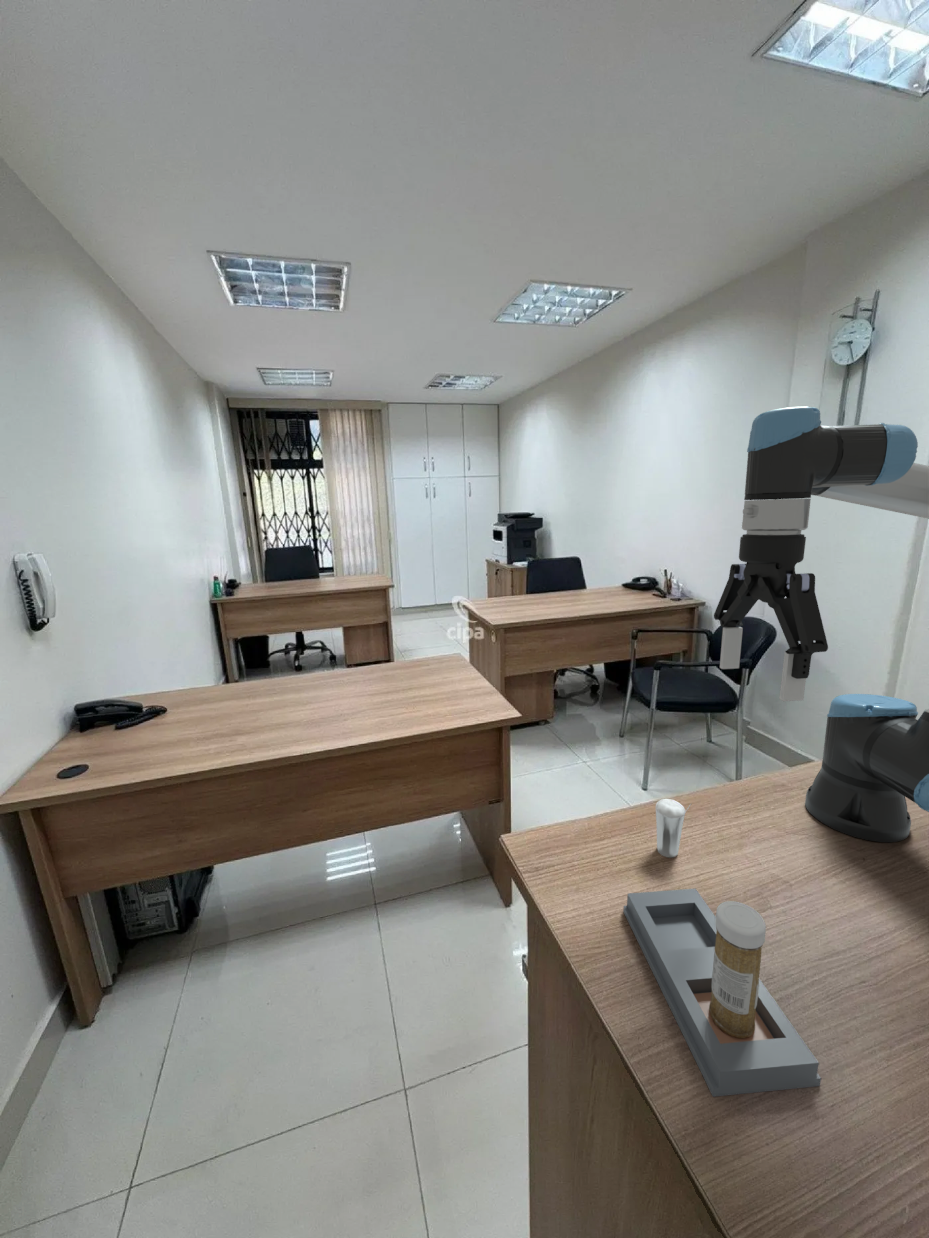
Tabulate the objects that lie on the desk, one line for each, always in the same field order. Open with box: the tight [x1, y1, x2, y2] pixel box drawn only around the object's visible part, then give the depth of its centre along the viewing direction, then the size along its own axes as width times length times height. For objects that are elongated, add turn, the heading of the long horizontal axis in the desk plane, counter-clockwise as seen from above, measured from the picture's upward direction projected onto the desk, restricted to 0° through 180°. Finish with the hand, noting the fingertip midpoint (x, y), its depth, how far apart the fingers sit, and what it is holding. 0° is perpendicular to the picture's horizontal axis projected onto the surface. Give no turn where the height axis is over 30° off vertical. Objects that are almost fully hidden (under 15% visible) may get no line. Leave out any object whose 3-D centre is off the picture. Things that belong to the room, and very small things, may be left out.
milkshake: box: [655, 798, 692, 859], centre depth 81 cm, size 5×5×10 cm
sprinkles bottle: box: [709, 900, 767, 1038], centre depth 53 cm, size 5×5×13 cm
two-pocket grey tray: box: [622, 888, 822, 1098], centre depth 59 cm, size 11×23×3 cm, turn 4°
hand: (757, 682), depth 71 cm, fingers open, 13 cm apart
